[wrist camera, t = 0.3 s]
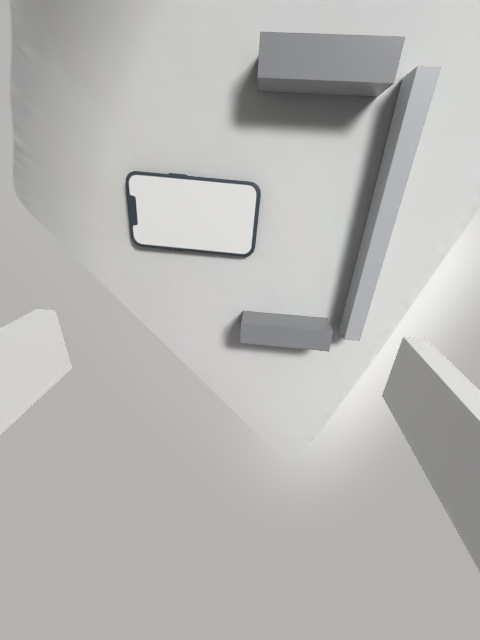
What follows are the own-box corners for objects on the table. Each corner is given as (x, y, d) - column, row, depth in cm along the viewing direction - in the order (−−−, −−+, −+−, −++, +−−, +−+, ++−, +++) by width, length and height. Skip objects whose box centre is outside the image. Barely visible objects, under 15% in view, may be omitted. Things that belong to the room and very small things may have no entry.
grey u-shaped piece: (261, 52, 27) (260, 31, 23) (429, 58, 26) (455, 38, 22) (242, 329, 41) (239, 342, 37) (350, 339, 40) (359, 354, 36)
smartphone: (261, 181, 32) (129, 169, 33) (261, 181, 31) (123, 169, 31) (253, 255, 36) (136, 244, 37) (253, 258, 35) (131, 246, 35)
